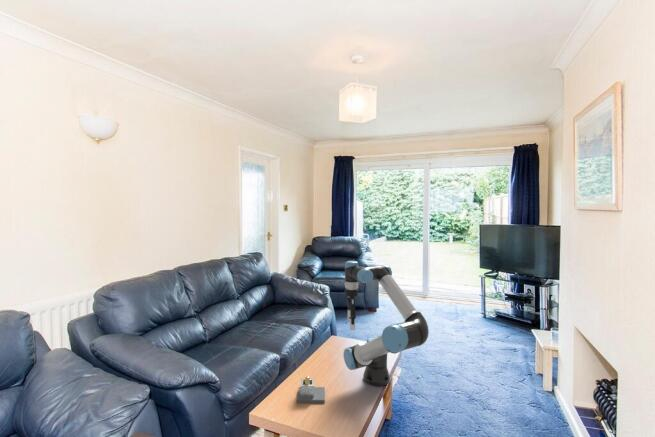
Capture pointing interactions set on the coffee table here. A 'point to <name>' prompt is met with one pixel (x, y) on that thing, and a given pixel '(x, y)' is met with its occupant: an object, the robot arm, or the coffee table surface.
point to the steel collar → (307, 389)
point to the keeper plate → (318, 397)
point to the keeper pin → (307, 381)
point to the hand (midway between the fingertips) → (351, 325)
